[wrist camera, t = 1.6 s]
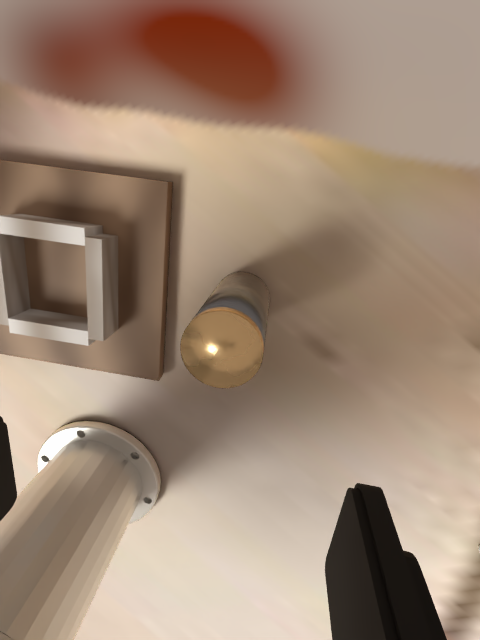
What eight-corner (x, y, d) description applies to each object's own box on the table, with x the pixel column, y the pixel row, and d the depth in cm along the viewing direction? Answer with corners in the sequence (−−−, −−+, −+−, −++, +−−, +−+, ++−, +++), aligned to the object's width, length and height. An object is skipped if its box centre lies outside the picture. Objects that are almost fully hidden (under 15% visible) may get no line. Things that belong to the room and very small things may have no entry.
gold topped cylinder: (237, 334, 28) (215, 401, 19) (204, 293, 27) (163, 341, 18) (280, 305, 27) (280, 361, 18) (247, 260, 26) (227, 294, 17)
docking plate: (172, 182, 25) (155, 179, 21) (163, 374, 30) (147, 396, 27) (-32, 155, 26) (-80, 149, 22) (-5, 345, 31) (-41, 363, 28)
